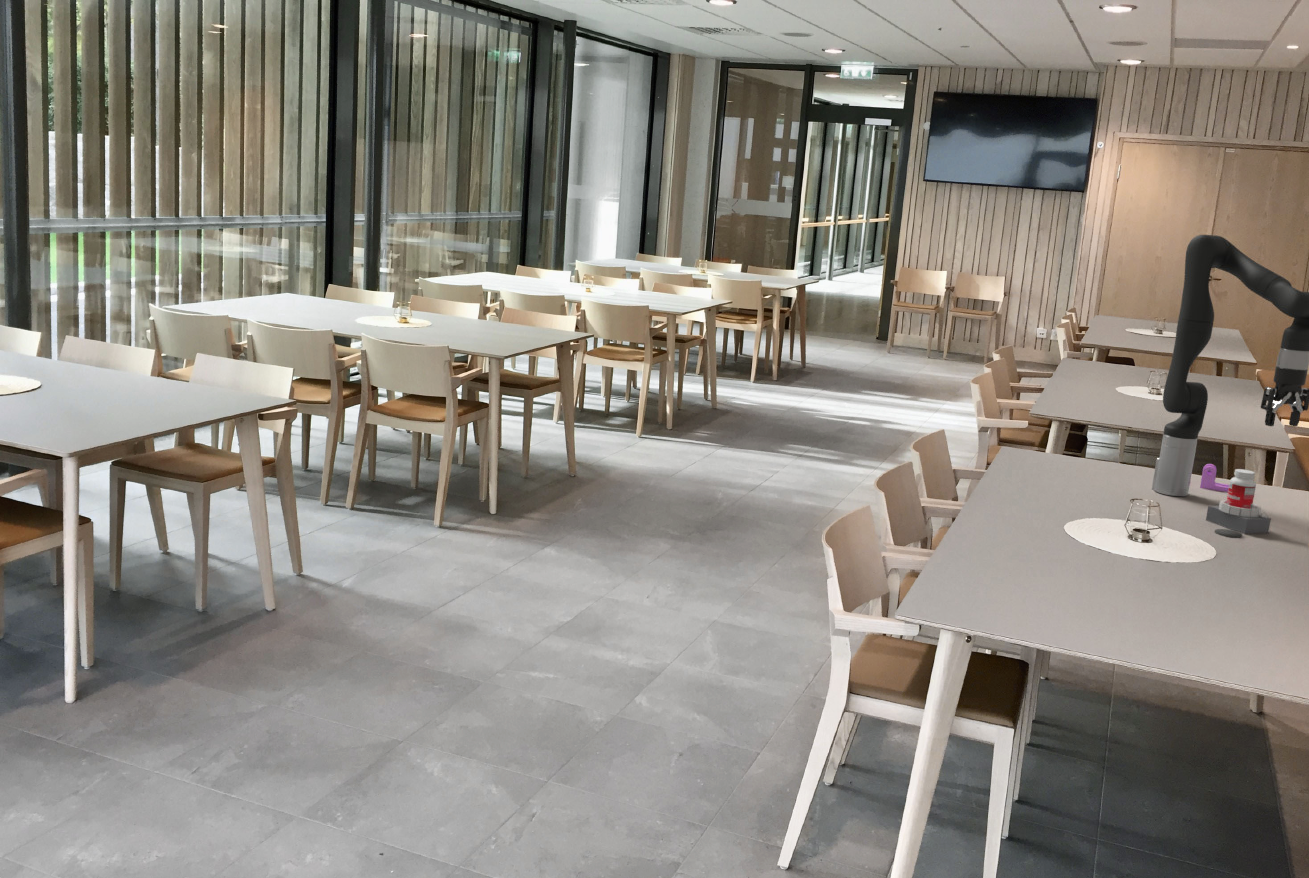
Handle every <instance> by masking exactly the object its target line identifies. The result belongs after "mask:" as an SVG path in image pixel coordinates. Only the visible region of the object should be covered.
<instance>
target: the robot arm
mask: <svg viewBox="0 0 1309 878" xmlns="http://www.w3.org/2000/svg"><path fill="white" fill-rule="evenodd" d="M1184 259H1185V260H1184V261H1185V263H1184V279H1183V289H1182V294H1181V295H1182V296H1181V302H1180V303H1181V304H1180V308H1179V314H1178V319H1177V326H1176V332H1175V333H1176V334H1175V340H1174V346H1173V352H1172V356H1171V357H1172V358H1171V361H1170V366H1169V369H1168V373H1167V375H1166V380H1165V385H1164V388H1163V394H1162V403H1163V404H1162V405H1163V407H1164V409H1165V411H1166V412H1168V413H1171V414H1180V416H1179V417H1178V418H1177V419H1175V420H1174V421H1171V422H1168V423H1167V424H1165V425H1164V429H1163V435H1162V441H1161V447H1160V453H1159V457H1157V458H1156V460H1155V467H1154V474H1153V478H1152V479H1153V480H1152V485H1151V490H1154V491H1155V492H1156V493H1159V494H1163V495H1166V496H1173V497H1188V496H1189V491H1190V486H1191V485H1190V484H1191V479H1192V474H1193V468H1194V461H1195V456H1196V455H1195V454H1196V451H1197V444H1198V437H1199V434H1200V431H1201V430H1202V427H1203V423H1204V419H1205V414H1206V411H1207V406H1208V402H1209V396H1208V393H1209V392H1208V389H1207V387H1206V385H1204V383H1201V382H1197V381H1195V382H1194V381H1187V379H1188V376H1189V372H1190V369H1191V367H1192V365H1193V364H1194V361H1196V359H1197V357H1199V355H1201V353H1202V352H1203V351H1204V349H1205V348H1206V347H1207V345H1208V344H1209V342H1210V340H1211V338H1212V333H1213V327H1214V321H1215V310H1214V306H1213V302H1212V299H1211V298H1212V297H1211V294H1210V288H1209V287H1210V278H1211V277H1210V276H1211V271H1212V269H1217V270H1221V271H1223V272H1226V273H1228V274H1230V275H1233V276H1234V277H1235V278H1237V279H1239V280H1240V282H1241V283H1242V284H1243V285H1244V287H1246V288H1247V289H1248V290H1250V291H1251V292H1253V293H1254V294H1255V295H1258V296H1259V297H1261V298H1262V299H1264V300H1266V301H1268V302H1269V303H1271V304H1272V305H1273V306H1274V307H1275V308H1276V309H1278V311H1280V312H1282V313H1283V314H1284V315H1286V316H1288V317H1290V318H1292V319H1293V321H1292V323H1291V325H1290V326H1288V327H1287V328H1285V329H1284V330H1283V333H1282V338H1281V343H1280V348H1279V351H1278V354H1277V359H1276V363H1275V369H1274V375H1273V382H1274V383H1275V385H1274V387H1269V386H1265V388H1264V390H1263V394H1262V400H1261V404H1260V409H1262V410H1264V411H1265V418H1264V425H1265V426H1268V427H1274V426H1275V422H1276V421H1275V419H1276V415H1277V413H1276V412H1277V411H1278V410H1279V408H1280V407H1283V406H1284V405H1288V406H1290V409H1291V412H1290V417H1289V421H1288V424H1289V426H1292V427H1298V425H1299V423H1300V420H1301V413H1303V412H1304V411H1308V410H1309V388H1307V387H1303V386H1305V384H1306V383H1307V381H1306V380H1307V377H1308V370H1309V291H1301V290H1299V289H1297V288H1295V287H1293V286H1292V283H1291V282H1290V281H1289V280H1288V279H1286V278H1285V277H1283V276H1281V275H1280V274H1278V273H1276V272H1274V271H1272V270H1271V269H1269V268H1267V267H1265V266H1263V265H1261V263H1258V262H1257V261H1255V260H1253V259H1251V258H1250V257H1248V255H1246V254H1244V253H1243V252H1242V251H1241V250H1240V249H1239V248H1237V247H1236V246H1235V245H1234V244H1233V243H1232V242H1230V241H1229V240H1227V239H1226V238H1225V237H1224V236H1221V235H1214V234H1199V235H1198V234H1197V235H1196V236H1194V237H1192V238H1191V239H1190V241H1189V243H1188V245H1187V247H1186V251H1185V258H1184Z"/></svg>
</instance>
